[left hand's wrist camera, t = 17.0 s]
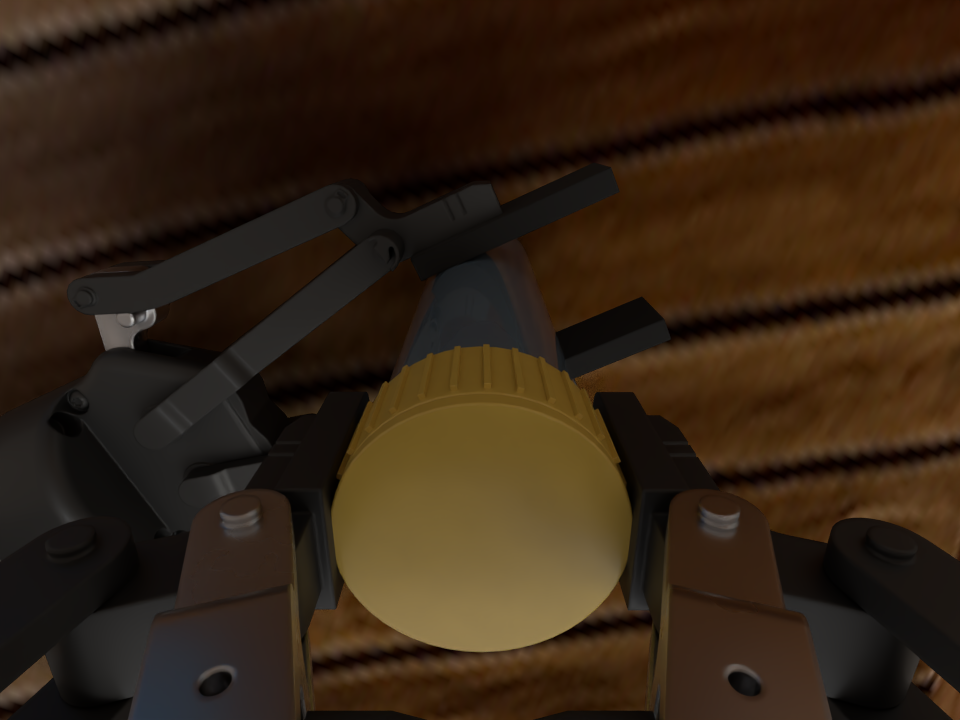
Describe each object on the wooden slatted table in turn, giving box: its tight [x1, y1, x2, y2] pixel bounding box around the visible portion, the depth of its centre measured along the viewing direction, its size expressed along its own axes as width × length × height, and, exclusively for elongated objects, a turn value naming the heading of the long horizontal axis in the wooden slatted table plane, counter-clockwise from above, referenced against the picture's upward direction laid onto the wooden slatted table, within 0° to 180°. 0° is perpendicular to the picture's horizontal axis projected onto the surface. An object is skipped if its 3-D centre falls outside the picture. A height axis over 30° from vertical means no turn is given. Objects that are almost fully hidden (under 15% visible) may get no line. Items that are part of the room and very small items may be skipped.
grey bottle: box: [390, 238, 574, 383], centre depth 18 cm, size 4×4×18 cm
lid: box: [331, 344, 632, 652], centre depth 10 cm, size 5×5×2 cm
